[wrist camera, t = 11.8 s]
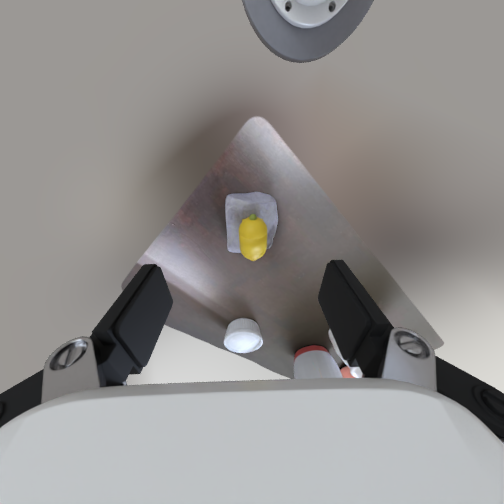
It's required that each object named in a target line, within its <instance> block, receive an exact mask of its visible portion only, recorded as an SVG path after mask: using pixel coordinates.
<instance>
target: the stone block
mask: <svg viewBox="0 0 504 504" xmlns="http://www.w3.org/2000/svg"><path fill="white" fill-rule="evenodd" d="M225 202H226V203H225V212H226V227H227V246H228V250H229V251H230V252H234V253H241V251H240V243H239V227H240V224H241V222H242V219H246V218H248V217H249V216H250V215H251V214H255V215H256V216H257V217H258V218H260V219H263V221H264V222H265V224H266V226H267V248H266V249H269V248H270V247H271V246H272V244H273V237H274V236H275V232H276V229H277V223H278V215H277V203H276V201H275V199H274V198H273V197H272V196H270V195H269V194H264V193H261V192H253V193H244V194H242V193H239V194H229V195H227V197H226V201H225Z"/></svg>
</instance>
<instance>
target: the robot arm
mask: <svg viewBox="0 0 504 504" xmlns="http://www.w3.org/2000/svg"><path fill="white" fill-rule="evenodd" d="M347 1H348V0H271V2H272V3H273V5H274V7H275V8H276V10H277V12H278V13H279V14H280V15H281V16H282V17H283V18H284V19H285V20H286V21H287V22H289V23H290V24H292V25H293V26H296V27H300V28H313V27H317V26H320V25H322V24H324V23H326V22H327V21H329V20H330V19H331V18H333V17H334V16H335V15H336V14H337V13H338V12H339V11H340V10H341V8H342V7H343V6H344V5H345V4H346V2H347ZM286 8H289V12H287V11H286ZM329 8H331V12H330V11H329ZM318 301H319V304H320V306H321V308H322V311H323V313H324V315H325V318H326V320H327V323H328V325H329V327H330V330H331V332H332V334H333V337H334V339H335V341H336V344H337V346H338V348H339V351H340V353H341V356H342V358H343V359H344V360H347V362H348V365H349V367H360V370H361V372H362V373H363V374H362V378H318V379H283V380H255V381H254V380H251V381H222V382H194V383H168V384H145V385H129V386H128V385H127V384H126V379H127V377H128V375H129V374H140V373H141V371H142V369H143V367H145V366H146V365H147V363H148V361H149V359H150V357H151V354H152V352H153V350H154V347H155V345H156V342H157V340H158V337H159V335H160V333H161V331H162V328H163V326H164V324H165V321H166V319H167V317H168V314H169V312H170V310H171V307H172V304H173V300H172V297H171V294H170V291H169V289H168V286H167V283H166V281H165V278H164V275H163V273H162V270H161V268H160V267H158V266H157V265H156V264H145V265H143V266H142V267H141V269H140V270H139V271H138V273H137V274H136V275H135V276H134V278H133V279H132V280H131V282H130V283H129V284H128V286H127V287H126V288H125V289H124V291H123V292H122V293H121V295H120V296H119V297H118V299H117V300H116V301H115V302H114V304H113V305H112V306H111V308H110V309H109V310H108V311H107V313H106V314H105V315H104V317H103V318H102V319H101V321H100V322H99V323H98V325H97V326H96V327H95V328H94V330H93V331H92V335H91V336H90V337H78V338H75V339H72V340H70V341H68V342H66V343H64V344H63V345H61V346H60V347H59V348H57V349H56V350H55V351H54V352H53V353H52V354H51V355H50V356H49V358H48V359H47V361H46V362H45V366H44V369H43V370H41V371H40V372H38V373H36V374H34V375H32V376H31V377H29V378H27V379H26V380H24V381H22V382H20V383H19V384H17V385H15V386H13V387H12V388H10V389H8V390H7V391H5V392H3V393H1V394H0V504H504V394H503V393H502V392H500V391H499V390H497V389H495V388H494V387H492V386H490V385H488V384H486V383H485V382H483V381H481V380H479V379H477V378H476V377H474V376H472V375H470V374H468V373H466V372H464V371H462V370H461V369H459V368H457V367H455V366H453V365H452V364H450V363H448V362H446V361H444V360H442V359H440V358H439V357H437V356H435V352H434V349H433V348H432V346H431V345H430V344H429V342H428V341H427V340H426V339H425V338H423V337H422V336H421V335H419V334H418V333H416V332H414V331H412V330H409V329H407V328H401V327H398V328H394V327H393V326H392V324H391V323H390V322H389V320H388V319H387V318H386V316H385V315H384V314H383V312H382V311H381V310H380V308H379V307H378V306H377V304H376V303H375V302H374V300H373V299H372V298H371V296H370V295H369V294H368V292H367V291H366V290H365V288H364V287H363V286H362V285H361V283H360V282H359V281H358V279H357V278H356V277H355V275H354V274H353V273H352V271H351V270H350V269H349V267H348V266H347V265H346V263H345V262H344V261H343V260H331V261H330V263H328V264H327V266H326V270H325V273H324V277H323V280H322V284H321V287H320V291H319V295H318Z"/></svg>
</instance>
